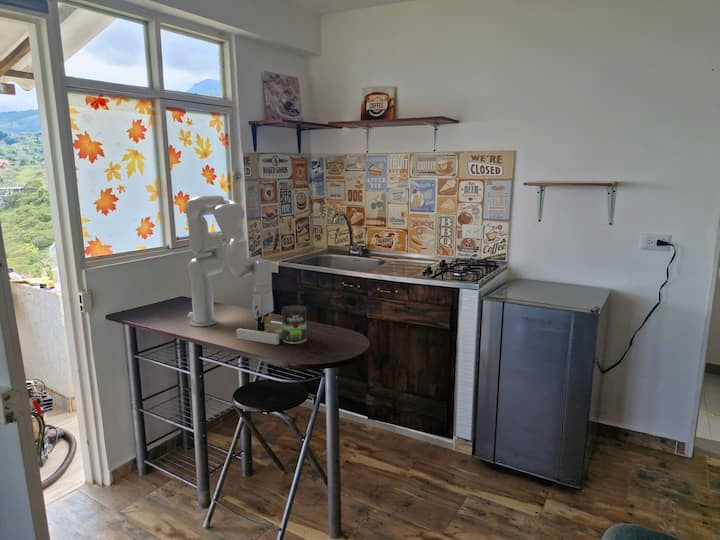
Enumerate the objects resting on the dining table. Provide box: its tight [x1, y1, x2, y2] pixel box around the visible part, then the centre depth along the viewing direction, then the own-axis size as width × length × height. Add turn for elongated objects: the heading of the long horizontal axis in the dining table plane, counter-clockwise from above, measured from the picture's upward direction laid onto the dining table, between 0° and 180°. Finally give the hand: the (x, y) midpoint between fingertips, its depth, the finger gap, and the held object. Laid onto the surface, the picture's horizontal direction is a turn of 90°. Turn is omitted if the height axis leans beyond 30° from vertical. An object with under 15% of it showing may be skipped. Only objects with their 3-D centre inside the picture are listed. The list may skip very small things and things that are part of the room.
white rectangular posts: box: [235, 320, 282, 346], centre depth 217 cm, size 20×17×4 cm
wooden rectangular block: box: [257, 315, 283, 340], centre depth 215 cm, size 12×4×8 cm, turn 67°
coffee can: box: [281, 304, 307, 345], centre depth 210 cm, size 10×10×14 cm
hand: (264, 328), depth 217 cm, fingers closed on wooden rectangular block, 4 cm apart
